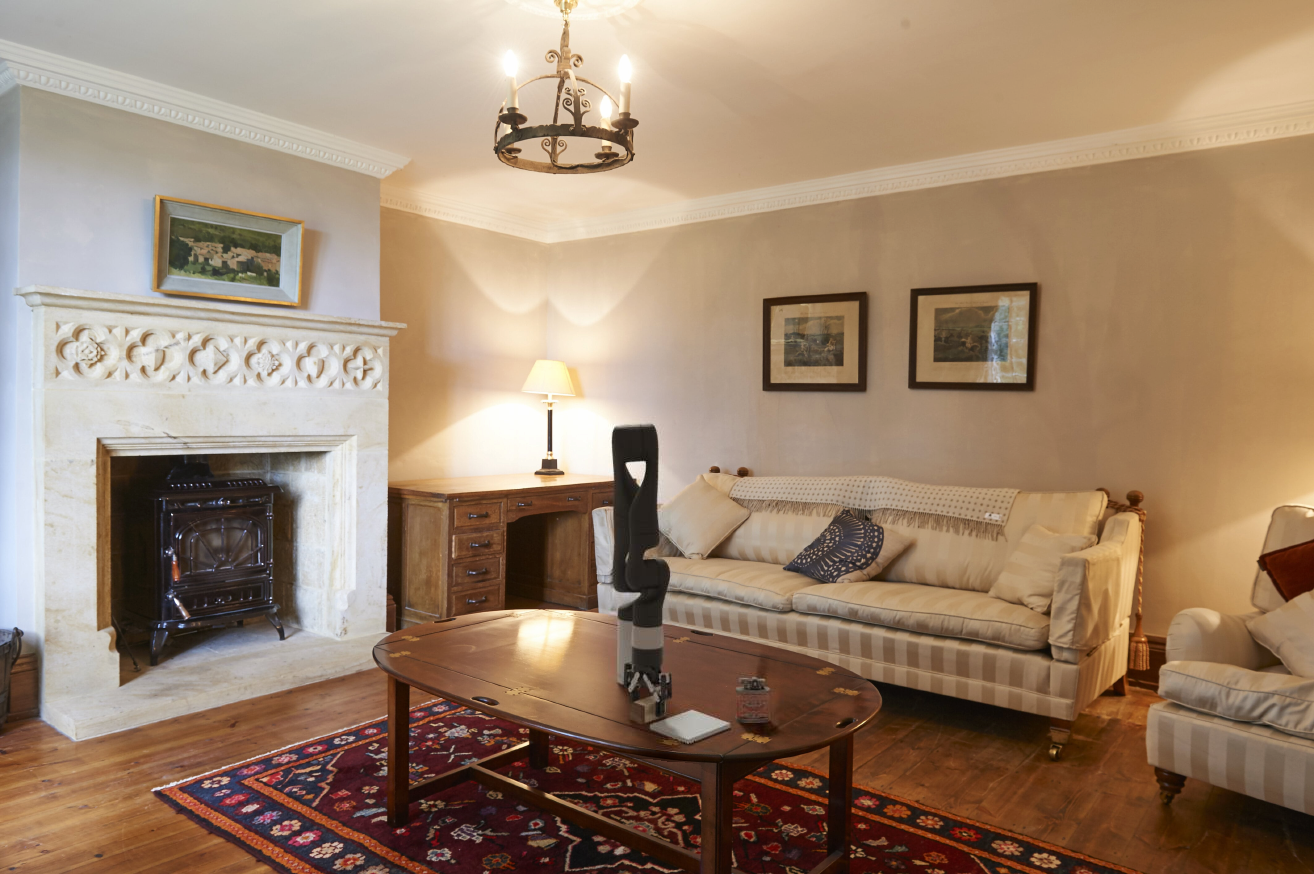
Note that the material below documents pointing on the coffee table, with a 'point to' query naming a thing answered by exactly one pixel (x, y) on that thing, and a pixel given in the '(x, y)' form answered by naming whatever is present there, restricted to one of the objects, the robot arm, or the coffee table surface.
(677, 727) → the mat
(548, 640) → the coffee table surface
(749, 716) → the lighter
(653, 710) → the block
